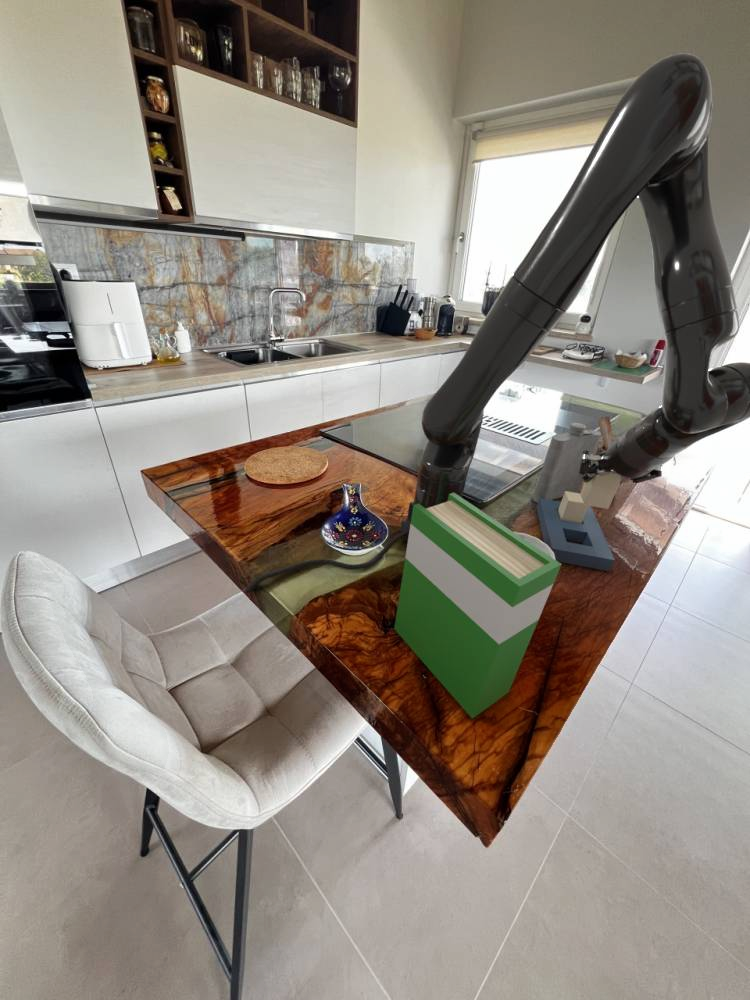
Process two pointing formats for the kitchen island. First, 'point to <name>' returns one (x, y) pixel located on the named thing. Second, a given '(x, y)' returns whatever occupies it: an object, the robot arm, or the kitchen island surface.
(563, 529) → the holder
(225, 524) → the kitchen island surface
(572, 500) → the beige wooden block
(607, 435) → the mortar and pestle
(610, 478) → the beige block
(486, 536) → the hardback book
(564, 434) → the hip flask
